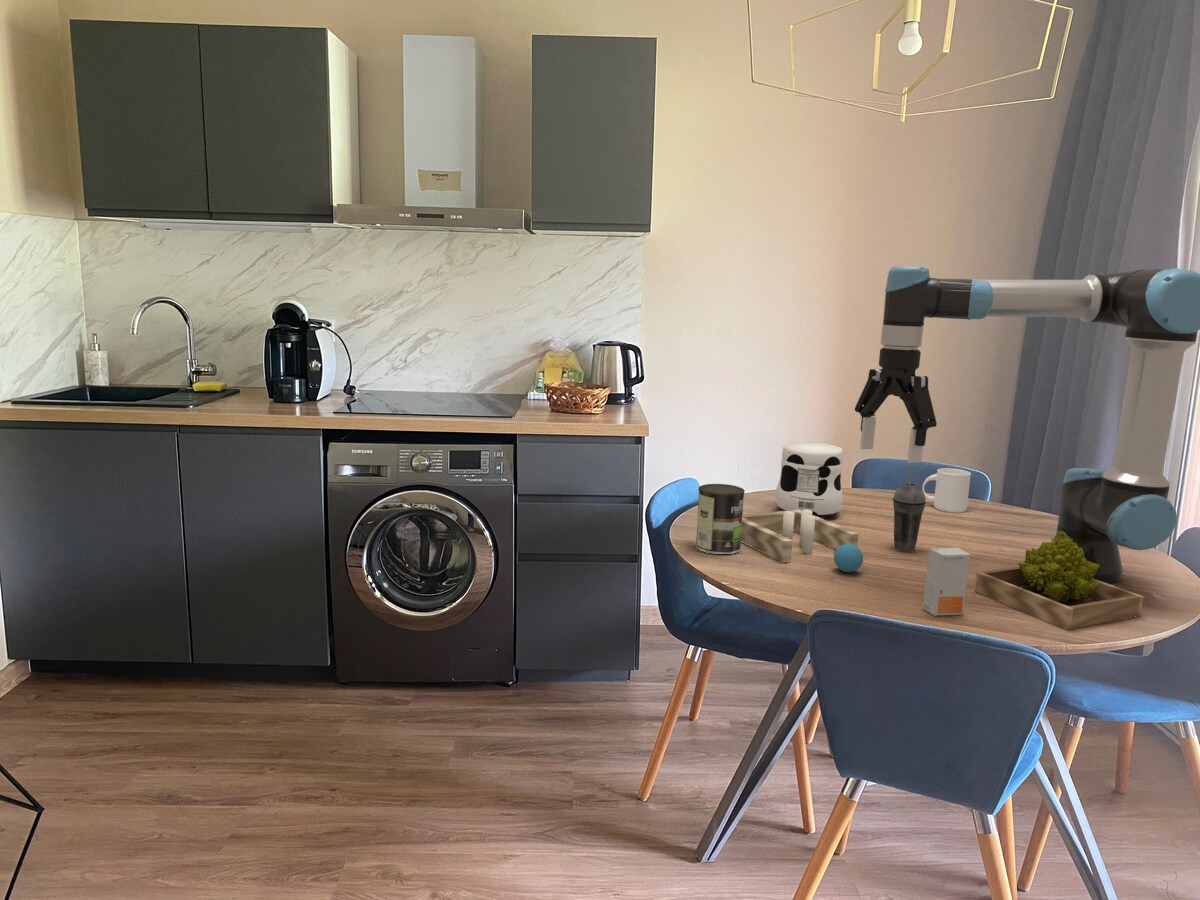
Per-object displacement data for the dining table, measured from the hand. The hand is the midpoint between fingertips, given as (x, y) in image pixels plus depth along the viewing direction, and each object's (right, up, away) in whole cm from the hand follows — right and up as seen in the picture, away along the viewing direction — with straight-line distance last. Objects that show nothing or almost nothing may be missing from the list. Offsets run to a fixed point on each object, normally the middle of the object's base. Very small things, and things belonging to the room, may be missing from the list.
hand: (889, 455), depth 173 cm
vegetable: (+33, -28, +1) cm, 43 cm away
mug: (+38, -15, +70) cm, 82 cm away
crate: (+32, -29, -2) cm, 43 cm away
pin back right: (-10, -21, +30) cm, 38 cm away
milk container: (-2, -16, +60) cm, 62 cm away
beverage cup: (+14, -22, +30) cm, 40 cm away
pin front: (-10, -22, +25) cm, 35 cm away
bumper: (-13, -21, +31) cm, 39 cm away
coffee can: (-31, -22, +26) cm, 46 cm away
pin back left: (-14, -22, +28) cm, 38 cm away
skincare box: (+7, -30, -9) cm, 32 cm away
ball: (-5, -22, +12) cm, 26 cm away
